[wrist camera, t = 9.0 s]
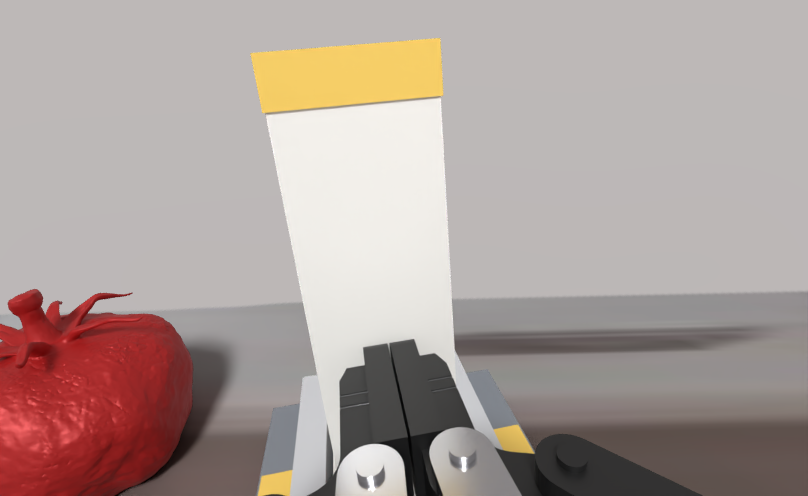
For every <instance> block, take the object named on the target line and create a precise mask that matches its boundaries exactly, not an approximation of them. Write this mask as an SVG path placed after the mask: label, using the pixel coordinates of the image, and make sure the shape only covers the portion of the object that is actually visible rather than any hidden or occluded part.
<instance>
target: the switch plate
mask: <svg viewBox="0 0 808 496" xmlns="http://www.w3.org/2000/svg"><path fill="white" fill-rule="evenodd" d="M455 370H456V387H457V388H458V391H459V393H460V395H461V398H462V400H463V402H464V405H465V407H466V409H467V412H468V414H469V417H470V419H471V421H472V424H473V426H474V428H475V430H477V431H479V432H481V433H483V434H484V435H485V436H487V437H488V439H489V440H490V441H491V442H492V444H493V445H494V447H496V448H498V449H501V450H505V451H510V452H521V453H532V454H535V451H534V449H533V447H532V446H531V444H530V442H529V440H528V439H527V437H526V435H525V434H524V432H523V430H522V428H521V427H520V425H519V423H518V421H517V420H516V418H515V416H514V414H513V413H512V411H511V409H510V407H509V406H508V404H507V402H506V400H505V399H504V397H503V395H502V394H501V392H500V390H499V388H498V387H497V385H496V383H495V381H494V380H493V378H492V376H491V374H490V373H489V371H488V369H486V370H481V371H475V372H470V373H466V372H465V370H464V368H463V366H462V364H461V362H460V360H459V358H458V356H457V354H456V352H455ZM332 476H333V450H332V445H331V440H330V435H329V430H328V425H327V420H326V415H325V410H324V405H323V400H322V395H321V390H320V385H319V380H318V375H313V376H307V377H303V382H302V391H301V399H300V404H295V405H289V406H284V407H278V408H273V413H272V418H271V423H270V428H269V433H268V438H267V443H266V448H265V453H264V458H263V464H262V469H261V474H260V479H259V484H258V489H257V494H256V496H264V495H269V494H280V495H285V496H307V495H309V494H311V493H313V492H315V491H316V490H318V489H319V488H321V487H322V486H323V485H325V484H326V483H327V482H328V481H329V480H330V478H331V477H332Z"/></svg>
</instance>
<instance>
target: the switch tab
mask: <svg viewBox="0 0 808 496" xmlns="http://www.w3.org/2000/svg"><path fill="white" fill-rule="evenodd" d="M251 58H252V63H253V68H254V73H255V78H256V83H257V88H258V93H259V98H260V103H261V108H262V113H265V114H266V119H267V124H268V129H269V134H270V139H271V144H272V149H273V154H274V159H275V164H276V169H277V174H278V179H279V184H280V189H281V194H282V199H283V204H284V209H285V214H286V219H287V224H288V229H289V234H290V239H291V244H292V249H293V254H294V259H295V264H296V269H297V274H298V280H299V284H300V289H301V295H302V299H303V305H304V310H305V315H306V320H307V325H308V330H309V335H310V340H311V345H312V350H313V355H314V360H315V365H316V370H317V375H318V380H319V385H320V390H321V395H322V400H323V405H324V410H325V415H326V420H327V425H328V430H329V435H330V440H331V445H332V450H333V474H334V473H335V471H336V469H337V467H338V465H339V461H340V394H339V381H340V379H341V378H342V376H343V374H344V372H345V370H346V368H351V367H356V366H362V365H365V363H364V354H363V347H367V346H373V345H379V344H385V343H387V344H388V348H389V352H390V346H389V343H392V342H398V341H404V340H410V339H414V340H415V343H416V346H417V349H418V352H419V355H420V356H421V355H427V354H432V353H435V354H437V355H438V356H439V357H440V358H441V359H443V360H444V361H445V362H446V363H447V365H448V367H449V370H450V372H451V374H452V378H453V379H454V381H455V384H456V370H455V351H454V333H453V314H452V296H451V279H450V278H451V277H450V260H449V241H448V222H447V204H446V186H445V167H444V148H443V129H442V113H441V112H442V111H441V96H443V80H442V61H441V42H440V38H435V39H422V40H410V41H397V42H385V43H373V44H359V45H347V46H334V47H322V48H309V49H297V50H284V51H271V52H259V53H251ZM390 357H391V355H390ZM413 488H414V486H413ZM414 496H416V495H415V491H414Z"/></svg>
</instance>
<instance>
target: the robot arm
mask: <svg viewBox="0 0 808 496" xmlns="http://www.w3.org/2000/svg"><path fill="white" fill-rule="evenodd" d="M389 346H390V352H389V348H388V344H387V343H385V344H379V345H373V346H367V347H363V354H364V363H365V365H362V366H356V367H351V368H346V370H345V372H344V374H343V376H342V378H341V379H340V381H339V394H340V461H339V465H338V467H337V469H336V471H335V473H334V474H333V476H332V477H331V478H330V480H329V481H328V482H327V483H326V484H325V485H323V486H322V487H321V488H319V489H318V490H316V491H315V492H313V493H311V494H309V495H307V496H414V491H415V495H416V496H702V495H700V494H698V493H696V492H694V491H692V490H690V489H688V488H685V487H683V486H681V485H679V484H677V483H675V482H673V481H671V480H669V479H667V478H665V477H662V476H660V475H658V474H656V473H654V472H652V471H650V470H648V469H646V468H644V467H641V466H639V465H637V464H635V463H633V462H631V461H629V460H627V459H625V458H623V457H620V456H618V455H616V454H614V453H612V452H610V451H608V450H606V449H604V448H602V447H599V446H597V445H595V444H593V443H591V442H589V441H587V440H585V439H582V438H580V437H577V436H573V435H568V434H557V435H552V436H549V437H547V438H545V439H543V440H542V441H541V442H540V443H539V444H538V446H537V448H536V452H535V454H532V453H521V452H510V451H505V450H501V449H498V448H496V447H494V445H493V444H492V442H491V441H490V440H489V439H488V437H487V436H485V435H484V434H483V433H481V432H479V431H477V430H475V428H474V426H473V424H472V421H471V419H470V417H469V414H468V412H467V409H466V407H465V405H464V402H463V400H462V398H461V395H460V393H459V391H458V388H457V387H456V384H455V381H454V379H453V378H452V374H451V372H450V370H449V367H448V365H447V363H446V362H445V361H444V360H443V359H441V358H440V357H439V356H438V355H437V354H435V353H432V354H427V355H421V356H420V355H419V352H418V349H417V346H416V343H415V340H414V339H410V340H404V341H398V342H392V343H389ZM390 355H391V357H390ZM413 486H414V488H413ZM264 496H285V495H280V494H269V495H264Z"/></svg>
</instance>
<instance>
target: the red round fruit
mask: <svg viewBox="0 0 808 496" xmlns="http://www.w3.org/2000/svg"><path fill="white" fill-rule="evenodd" d="M130 294H132V293H129V294H124V295H123V294H110V293H98V294H95V295H93V296H92V297H90V298H89V299H88V300H87V301H85V302H84V303H83V304H81V305H79V306H78V307H77V308H76V309H75V310H74V311H72V312H71V313H70V314H68V315H61V316H60V313H59V304H62V302H60V301H55V302H53V303H51V304H50V306H49V308H48V310H47V312H46V315H45V313H44V311H43V309H42V308H41V305H42V302H43V296H42V294H41V293H40V292H39V291H38V290H37V289H33V290H30V291H27V292H25V293H23V294H20V295H18V296H16V297H14V298H13V299H11V300H9V302H8V307H9V310H10V311H11V312H12V313H13V314H14V315H16V316H18V317H19V318H20V320H21V322H22V326H23V328H22V329H20V330H17V329H15V328H12V327H9V326H5V325H2V324H0V339H1V340H3V341H2V342H0V496H115V495H117V494H118V493H120V492H122V491H123V490H125V489H127V488H129V487H132V486H136V485H138V484H140V483H142V482H144V481H145V480H147V479H148V478H150V477H152V476H153V475H154V474H155V473H156V472H157V471H158V470H159V469H160V468H161V467H162V466H164V465H165V464H166V463H167V461H168V460H169V459H170V457H171V456H172V454H173V451H174V450H175V448H176V447H177V445H178V442H179V440H180V435H181V432H182V430H183V428H184V426H185V423H186V421H187V418H188V416H189V414H190V411H191V408H192V383H193V362H192V359H191V357H190V353H189V351H188V350H187V348H186V346H185V345H184V343H183V341H182V338H181V336H180V335H179V334H178V333H177V332H176V330H175V328H174V327H173V326H172V325H171V324H170V323H169V322H167V321H165V320H164V318H161V317H159V316H156V315H153V314H128V315H116V314H113V313H101V314H87V313H88V312H89V310H90V309H91V308H92V307H93V305H94V304H95V302H96V301H98V300H101V299H108V298H114V297H122V296H127V295H130Z"/></svg>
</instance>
